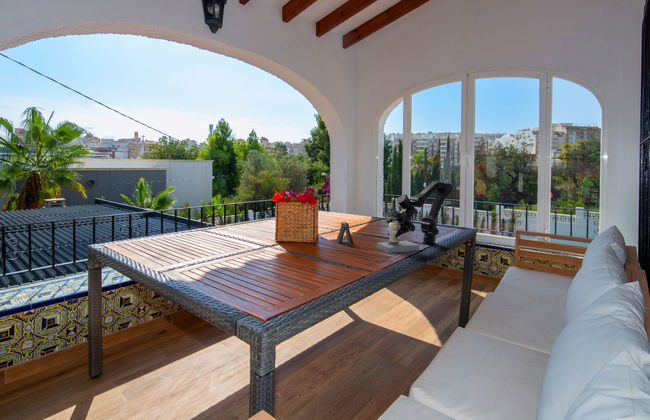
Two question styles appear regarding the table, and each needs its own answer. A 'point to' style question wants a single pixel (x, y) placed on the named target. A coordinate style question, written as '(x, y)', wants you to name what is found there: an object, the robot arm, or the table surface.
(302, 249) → the table surface
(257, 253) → the table surface
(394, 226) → the ash peg
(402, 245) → the grey slab with hole
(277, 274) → the table surface
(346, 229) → the grey a-shaped frame
